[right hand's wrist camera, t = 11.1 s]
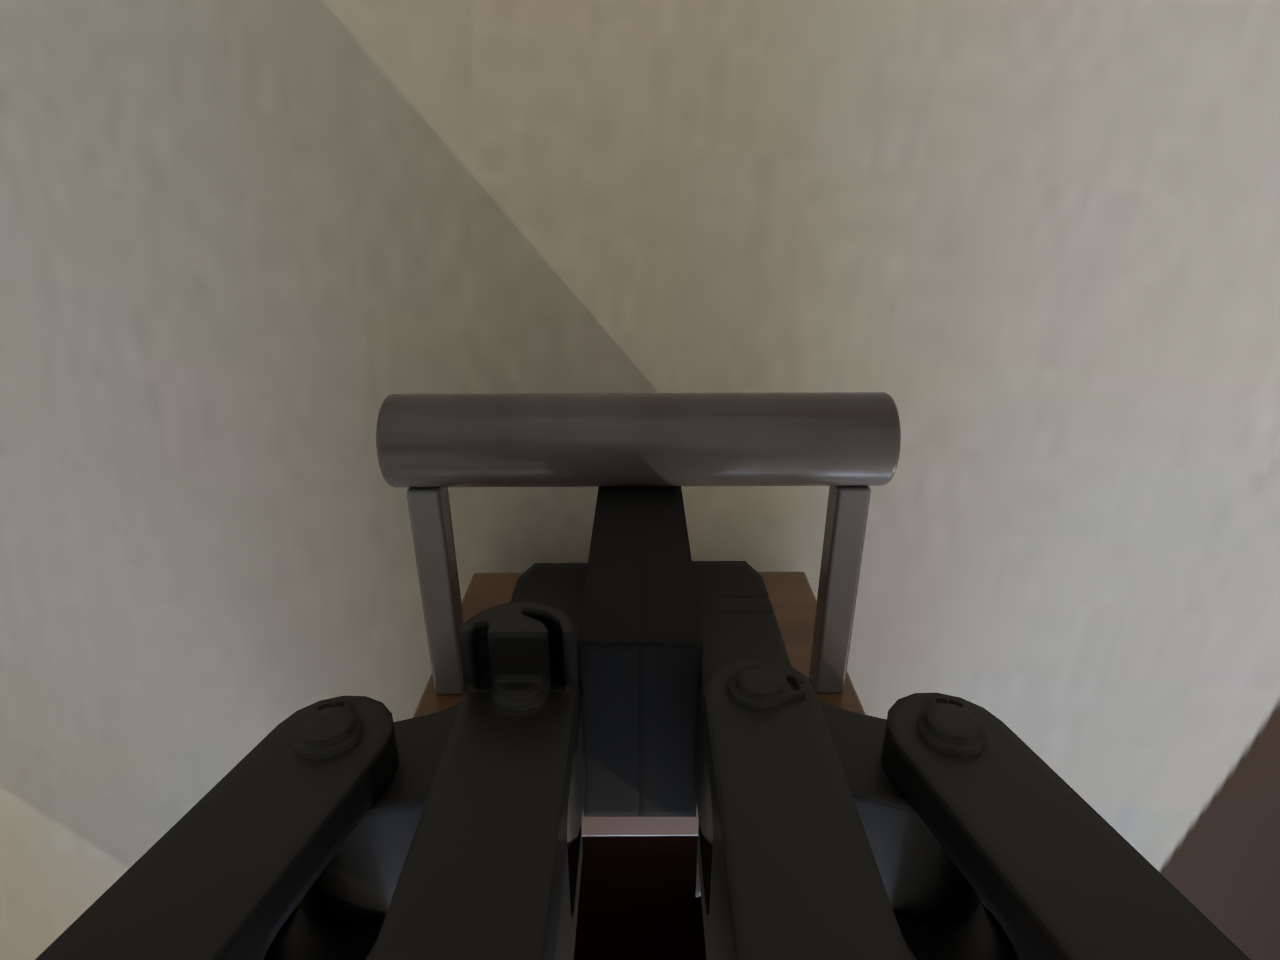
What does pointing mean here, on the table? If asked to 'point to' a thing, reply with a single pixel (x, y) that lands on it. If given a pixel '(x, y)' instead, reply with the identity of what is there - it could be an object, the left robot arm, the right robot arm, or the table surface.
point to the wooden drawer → (642, 456)
